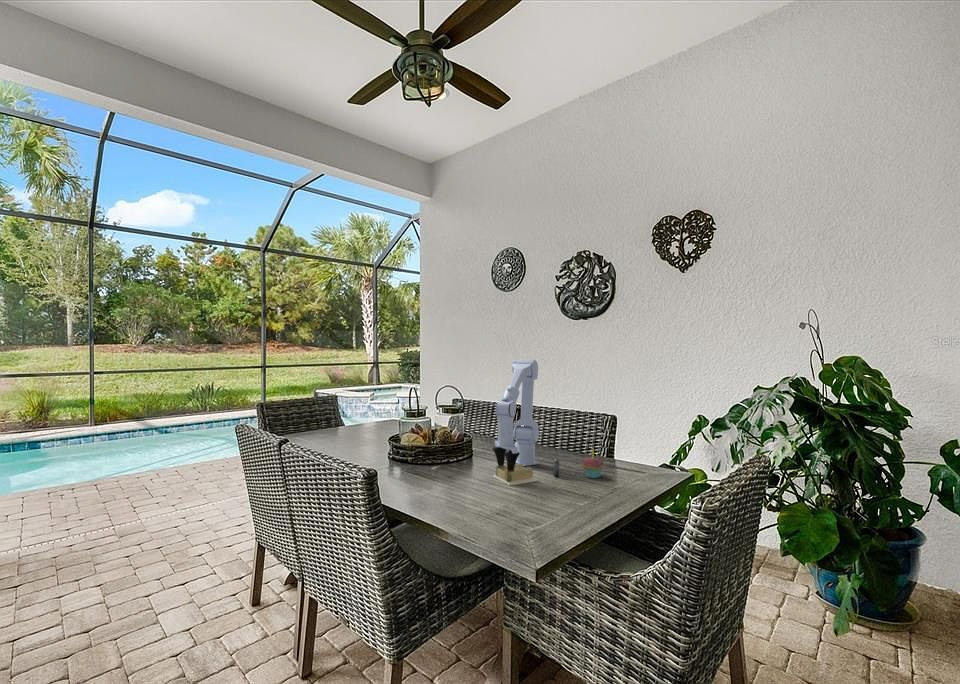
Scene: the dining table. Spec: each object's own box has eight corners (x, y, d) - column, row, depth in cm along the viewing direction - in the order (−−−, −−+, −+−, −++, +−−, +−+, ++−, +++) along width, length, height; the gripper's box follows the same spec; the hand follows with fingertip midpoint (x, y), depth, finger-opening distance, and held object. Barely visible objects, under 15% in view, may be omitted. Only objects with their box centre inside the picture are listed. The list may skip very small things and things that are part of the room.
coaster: (493, 476, 175) (493, 475, 175) (519, 472, 181) (519, 471, 181) (508, 485, 165) (508, 484, 165) (536, 481, 170) (536, 479, 170)
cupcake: (605, 480, 171) (605, 447, 171) (581, 478, 172) (581, 447, 172) (602, 473, 180) (602, 442, 180) (580, 472, 181) (580, 442, 181)
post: (552, 475, 176) (552, 458, 176) (557, 475, 177) (557, 458, 177) (555, 477, 174) (555, 460, 174) (560, 476, 175) (560, 459, 175)
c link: (495, 475, 175) (495, 466, 175) (520, 472, 180) (520, 463, 180) (507, 482, 167) (507, 472, 167) (532, 478, 172) (532, 468, 172)
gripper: (487, 430, 180) (487, 464, 180) (506, 437, 167) (506, 474, 167) (503, 428, 183) (503, 462, 183) (522, 435, 170) (522, 471, 170)
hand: (505, 468), depth 175 cm, fingers open, 7 cm apart
